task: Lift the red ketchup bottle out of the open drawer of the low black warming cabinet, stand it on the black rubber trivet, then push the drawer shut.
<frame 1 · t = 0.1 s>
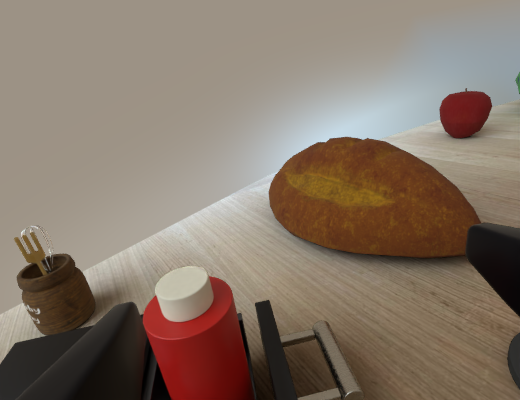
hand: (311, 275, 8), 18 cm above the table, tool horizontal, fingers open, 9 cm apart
drawer: (250, 383, 21), point 3 cm above the table, slide at 8.0 cm, touching ketchup bottle
apple: (461, 137, 79), on the table
bread: (355, 223, 46), on the table
utensil holder: (70, 319, 35), on the table
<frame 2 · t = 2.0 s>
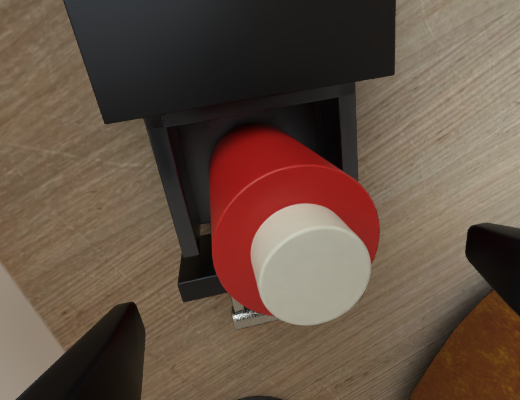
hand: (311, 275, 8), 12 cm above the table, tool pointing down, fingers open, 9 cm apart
drawer: (265, 217, 17), point 3 cm above the table, slide at 8.0 cm, touching ketchup bottle
ketchup bottle: (255, 169, 18), point 2 cm above the table, touching drawer
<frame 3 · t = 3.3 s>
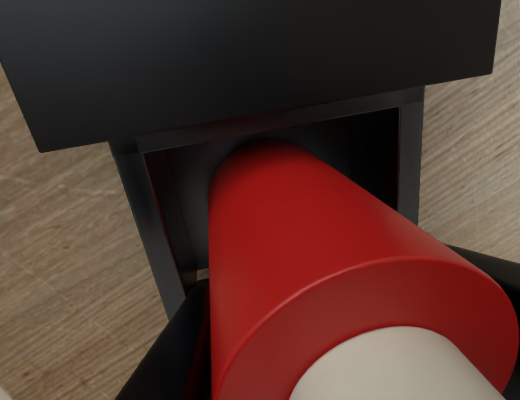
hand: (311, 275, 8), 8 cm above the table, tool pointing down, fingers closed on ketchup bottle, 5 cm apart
drawer: (283, 264, 13), point 3 cm above the table, slide at 8.0 cm, touching ketchup bottle
ketchup bottle: (269, 199, 13), point 2 cm above the table, touching drawer, gripper
when the fingers open (6 cm above the table, at t = 8.9 s): ketchup bottle stays where it is, resting on trivet.
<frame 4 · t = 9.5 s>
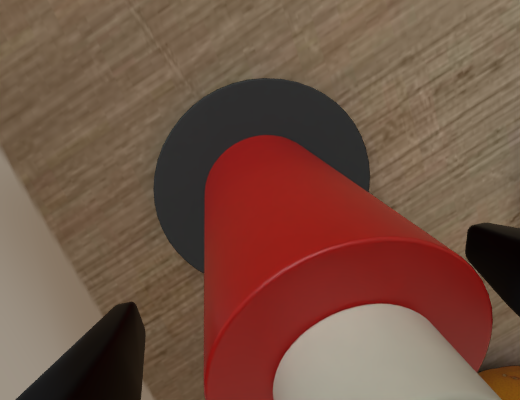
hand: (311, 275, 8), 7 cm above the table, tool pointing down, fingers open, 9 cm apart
trivet: (264, 189, 14), on the table
ketchup bottle: (264, 194, 14), point 1 cm above the table, touching trivet
fruit: (474, 391, 23), on the table
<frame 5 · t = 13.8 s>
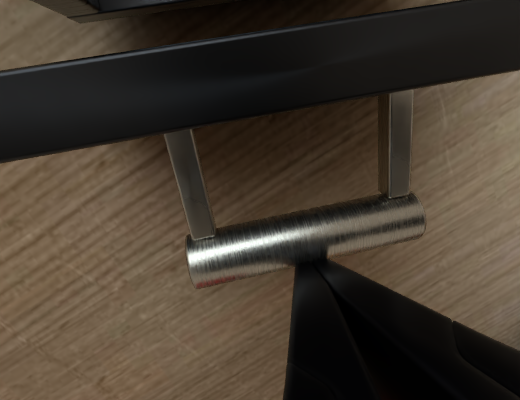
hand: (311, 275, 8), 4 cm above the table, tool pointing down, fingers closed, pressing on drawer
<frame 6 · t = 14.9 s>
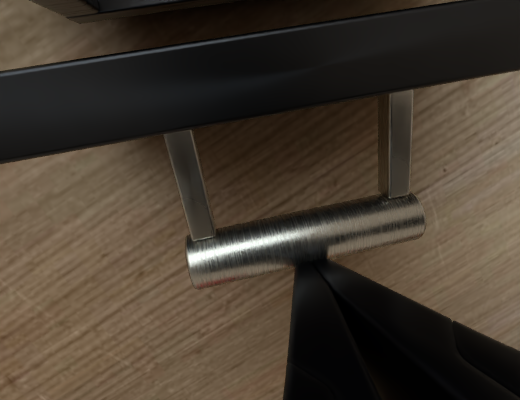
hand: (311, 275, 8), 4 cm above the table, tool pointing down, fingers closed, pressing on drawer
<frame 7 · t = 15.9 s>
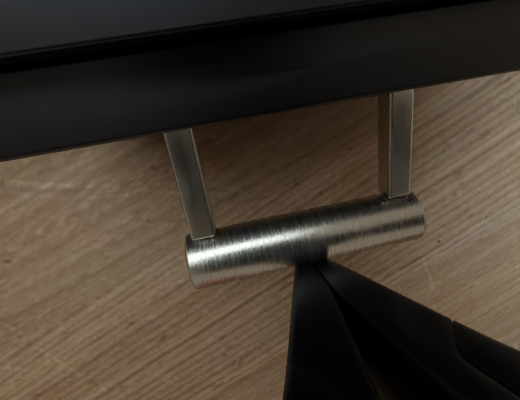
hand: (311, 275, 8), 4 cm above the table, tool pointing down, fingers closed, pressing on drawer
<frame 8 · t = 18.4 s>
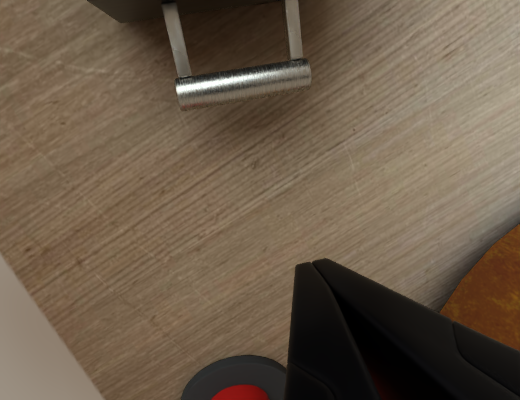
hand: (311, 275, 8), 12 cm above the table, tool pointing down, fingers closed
trivet: (238, 398, 26), on the table
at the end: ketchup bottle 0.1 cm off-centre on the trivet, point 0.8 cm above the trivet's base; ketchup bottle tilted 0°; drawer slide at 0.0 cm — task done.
